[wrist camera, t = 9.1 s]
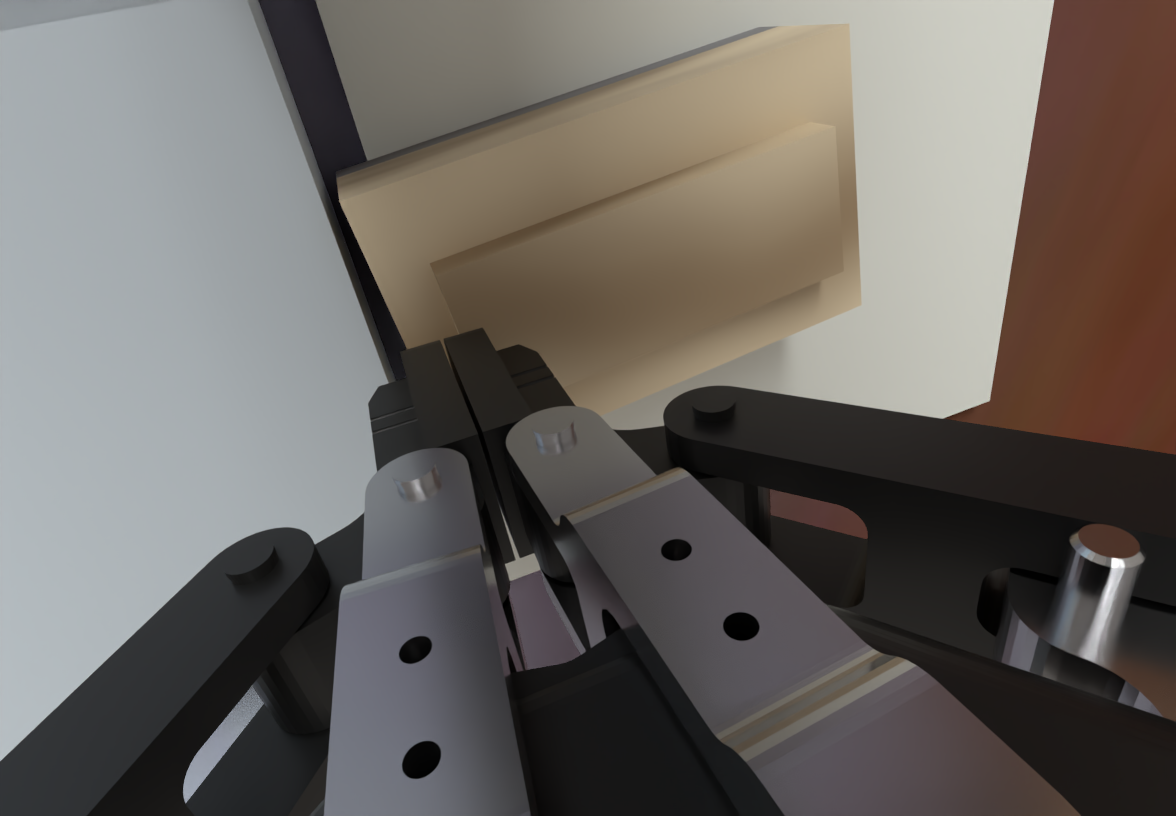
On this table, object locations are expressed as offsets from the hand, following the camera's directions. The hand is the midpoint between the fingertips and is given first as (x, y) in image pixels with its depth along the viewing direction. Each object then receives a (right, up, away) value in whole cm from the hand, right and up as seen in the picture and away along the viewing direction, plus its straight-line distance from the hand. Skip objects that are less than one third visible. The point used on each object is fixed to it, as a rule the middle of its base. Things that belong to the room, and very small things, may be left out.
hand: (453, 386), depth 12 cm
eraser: (+2, +4, +4) cm, 6 cm away
